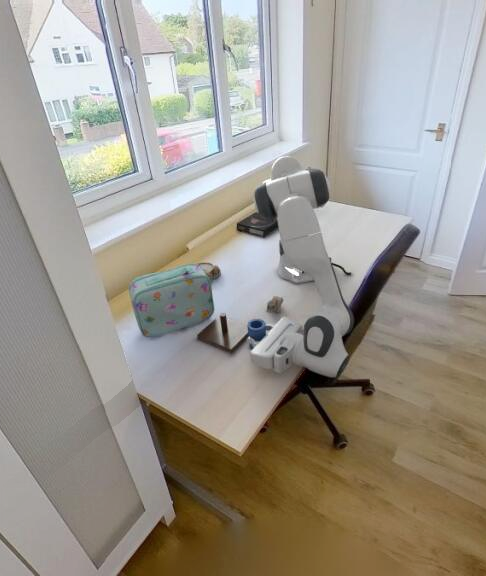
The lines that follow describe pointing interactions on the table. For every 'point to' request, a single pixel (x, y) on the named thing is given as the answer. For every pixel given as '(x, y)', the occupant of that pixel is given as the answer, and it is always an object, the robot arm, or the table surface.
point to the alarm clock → (210, 270)
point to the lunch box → (171, 300)
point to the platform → (224, 334)
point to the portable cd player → (257, 225)
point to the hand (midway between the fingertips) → (254, 332)
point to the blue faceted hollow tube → (256, 330)
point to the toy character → (274, 304)
